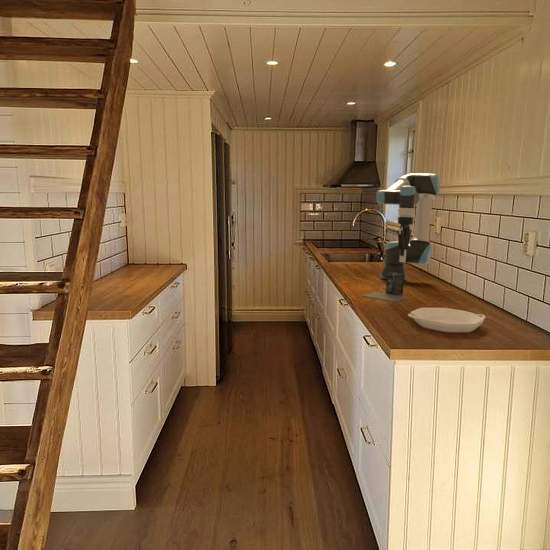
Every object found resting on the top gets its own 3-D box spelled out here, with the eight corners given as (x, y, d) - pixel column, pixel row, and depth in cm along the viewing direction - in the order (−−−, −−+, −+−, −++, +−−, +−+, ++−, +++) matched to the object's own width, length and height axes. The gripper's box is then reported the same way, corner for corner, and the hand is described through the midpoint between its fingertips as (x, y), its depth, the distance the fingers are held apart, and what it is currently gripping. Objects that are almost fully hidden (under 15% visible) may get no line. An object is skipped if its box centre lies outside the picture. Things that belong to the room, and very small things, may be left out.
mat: (374, 292, 250) (374, 291, 250) (407, 297, 239) (407, 297, 239) (362, 296, 239) (362, 295, 239) (396, 302, 228) (396, 301, 228)
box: (385, 292, 250) (386, 272, 249) (394, 292, 252) (396, 272, 250) (393, 295, 243) (394, 274, 241) (402, 295, 244) (404, 274, 243)
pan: (419, 334, 175) (420, 323, 175) (396, 317, 200) (397, 307, 200) (500, 335, 178) (502, 323, 177) (468, 317, 203) (469, 307, 202)
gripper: (403, 216, 254) (400, 260, 258) (393, 216, 244) (390, 262, 248) (417, 216, 250) (414, 261, 253) (407, 217, 240) (404, 263, 243)
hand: (402, 261), depth 251 cm, fingers closed
